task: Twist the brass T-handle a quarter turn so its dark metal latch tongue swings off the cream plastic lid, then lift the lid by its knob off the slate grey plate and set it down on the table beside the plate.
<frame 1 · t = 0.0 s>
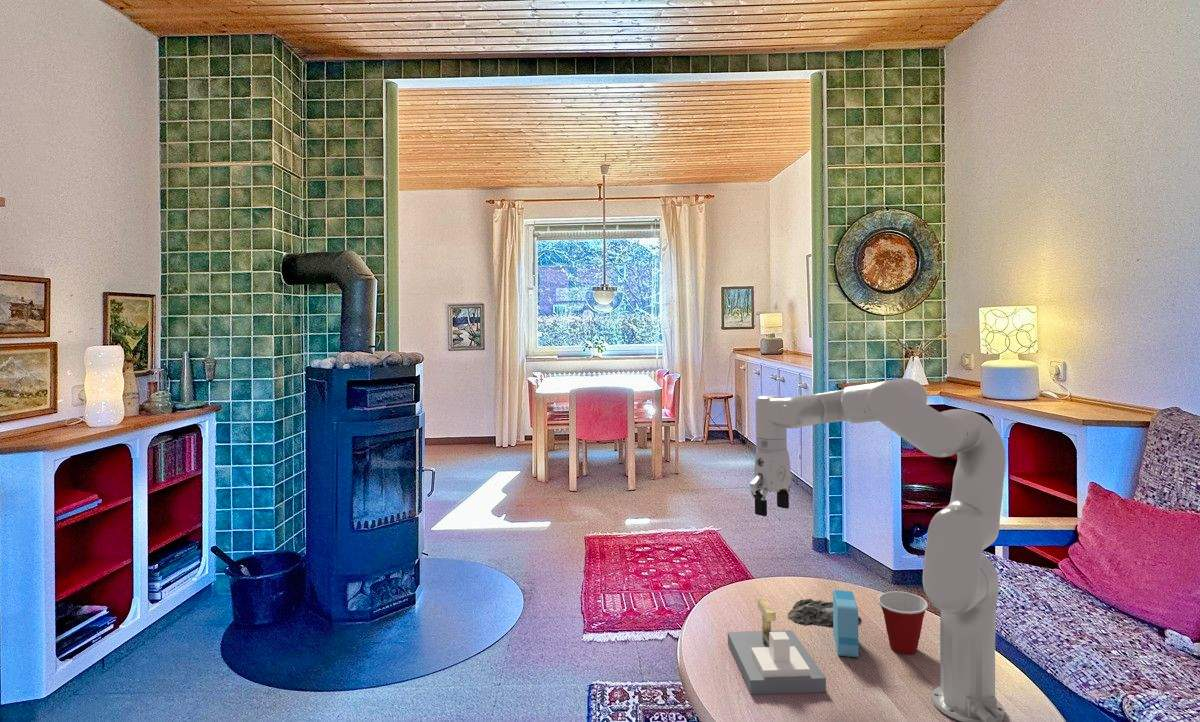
hand: (772, 511, 158), 31 cm above the table, tool pointing down, fingers open, 9 cm apart
geode: (822, 616, 169), on the table
data package: (845, 647, 151), on the table
plastic cup: (902, 650, 149), on the table
key: (768, 626, 146), point 8 cm above the table, hinge at 0.0°
plate: (773, 666, 143), on the table
lid: (779, 664, 138), point 3 cm above the table, touching plate
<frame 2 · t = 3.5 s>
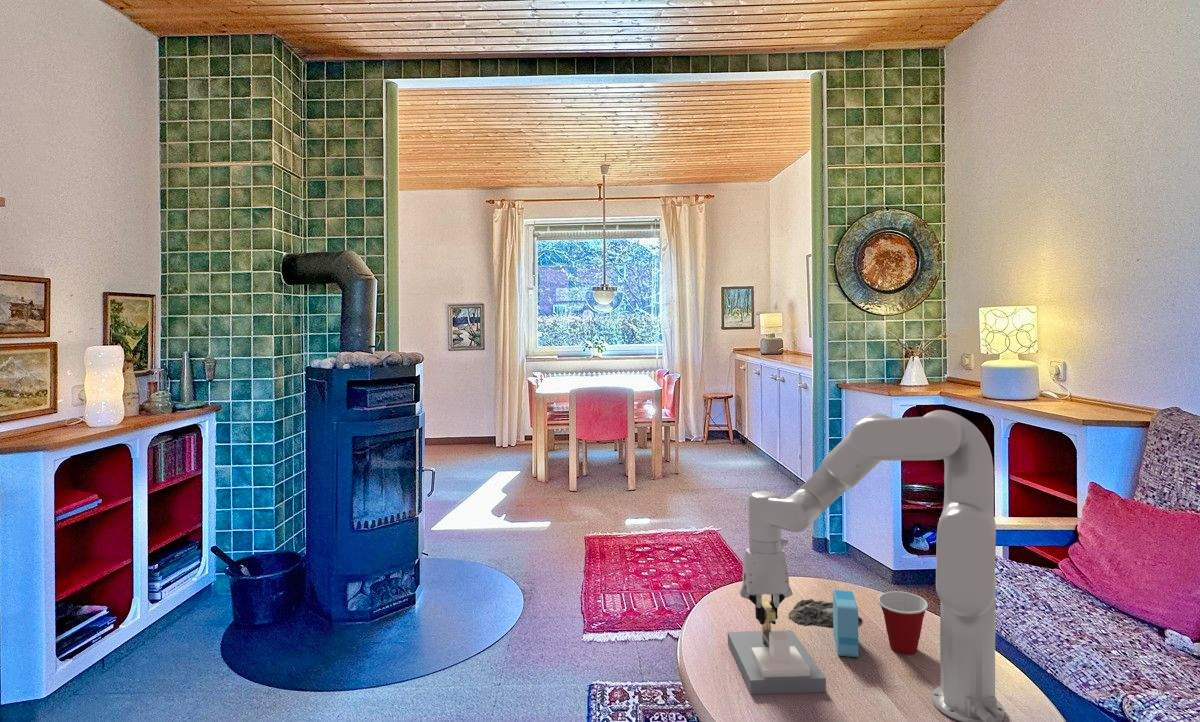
hand: (766, 621, 148), 8 cm above the table, tool pointing down, fingers closed on key, 2 cm apart
key: (768, 626, 146), point 8 cm above the table, hinge at 0.0°, touching gripper
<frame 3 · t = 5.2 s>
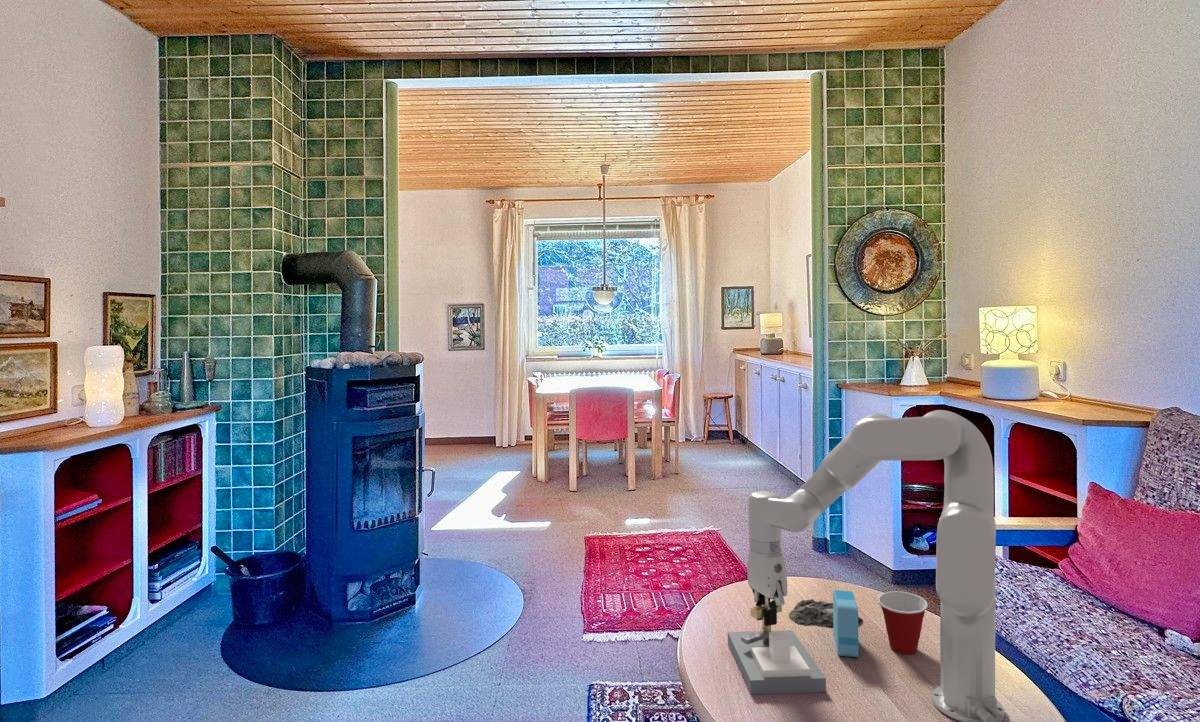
hand: (766, 621, 148), 8 cm above the table, tool pointing down, fingers closed on key, 2 cm apart
key: (761, 625, 147), point 8 cm above the table, hinge at -61.8°, touching gripper
everything else where it was.
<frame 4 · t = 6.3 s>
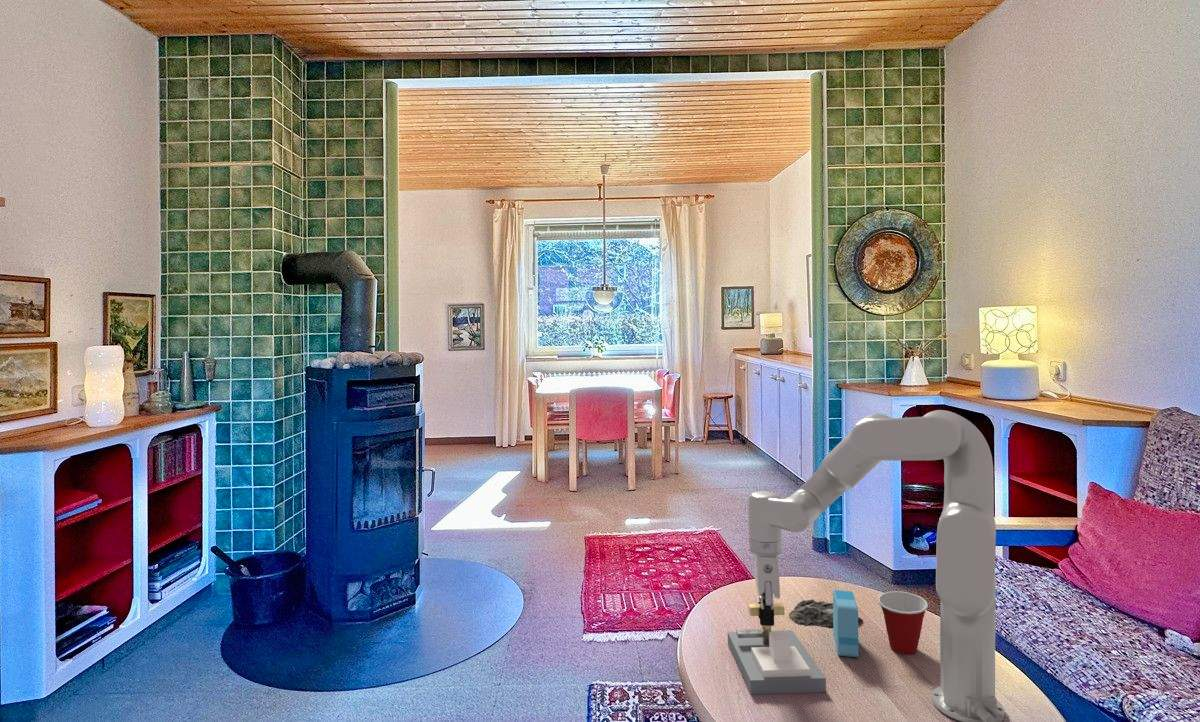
hand: (766, 621, 148), 8 cm above the table, tool pointing down, fingers closed on key, 2 cm apart
key: (760, 623, 148), point 8 cm above the table, hinge at -89.9°, touching gripper
everything else where it was.
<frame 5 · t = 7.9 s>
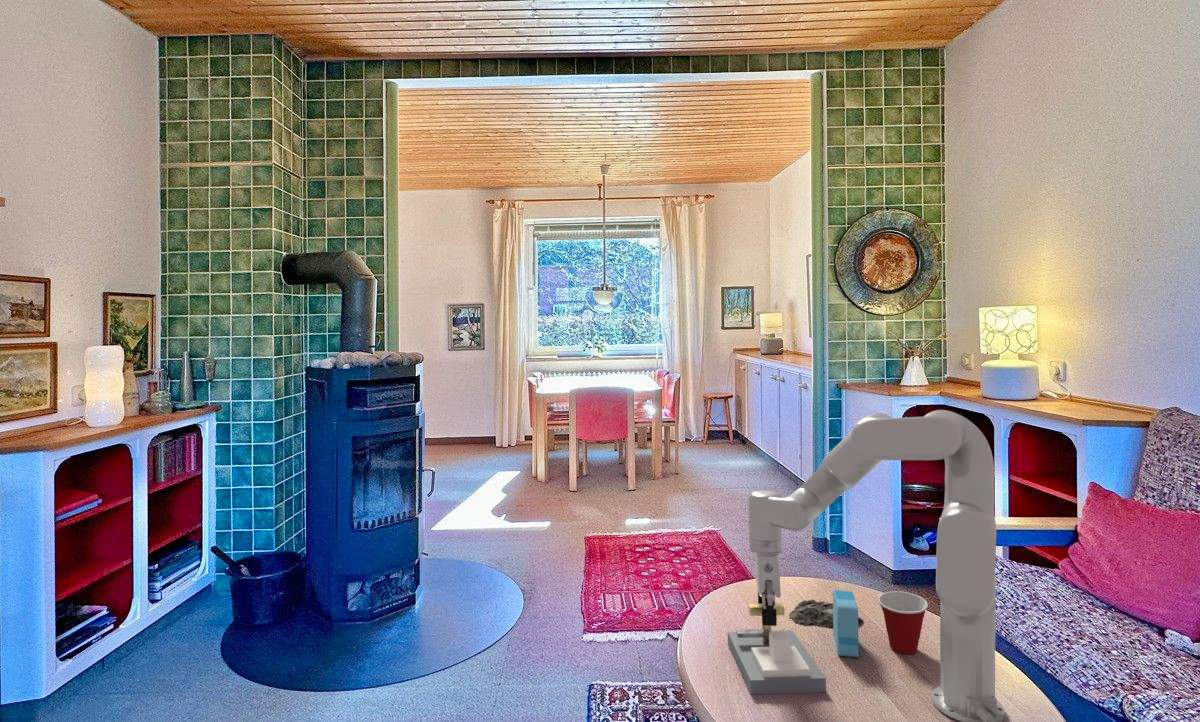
hand: (767, 615, 148), 10 cm above the table, tool pointing down, fingers open, 9 cm apart
key: (760, 623, 148), point 8 cm above the table, hinge at -91.4°
everything else where it was.
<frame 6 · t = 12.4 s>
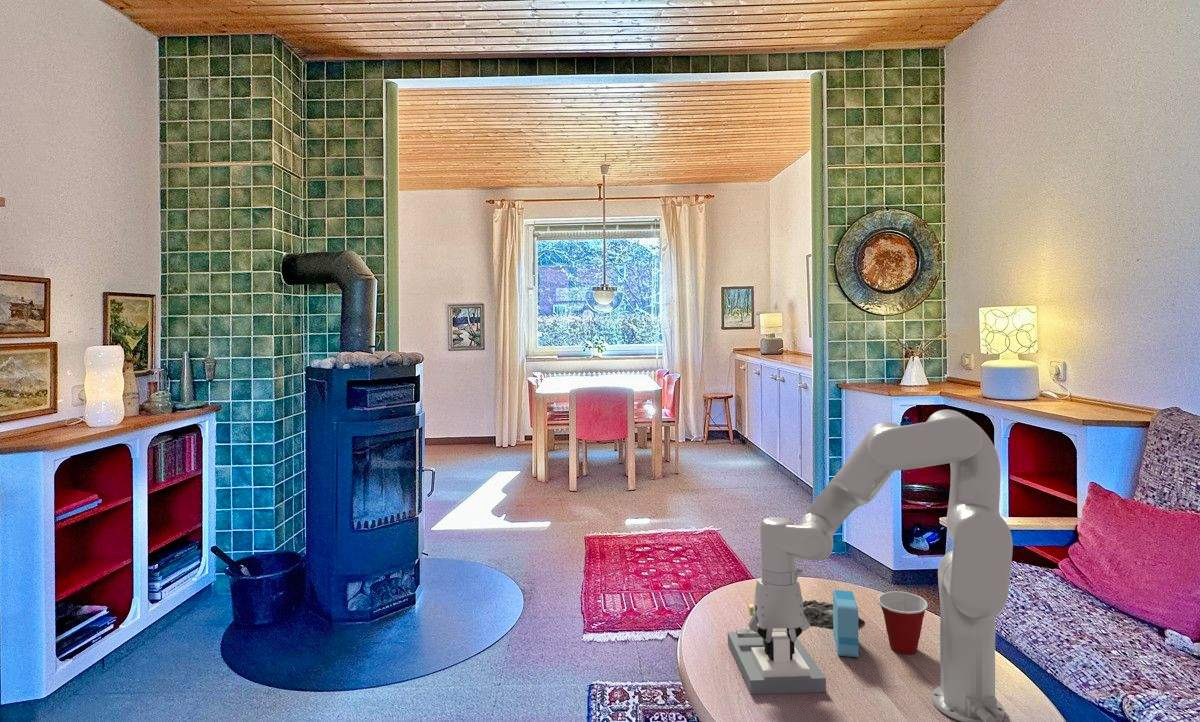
hand: (779, 656, 138), 5 cm above the table, tool pointing down, fingers closed on lid, 3 cm apart
lid: (779, 664, 138), point 3 cm above the table, touching gripper, plate
when the fingers open (3 cm above the table, at t = 17.9 s): lid drops 2 cm, on the table.
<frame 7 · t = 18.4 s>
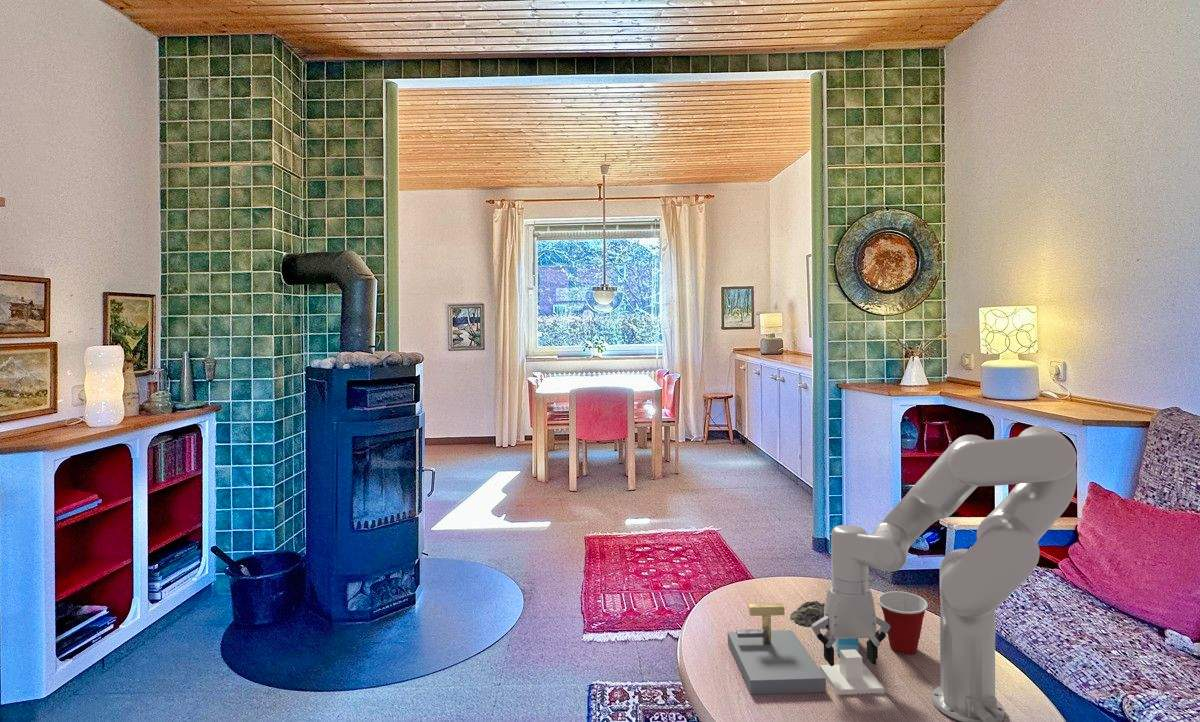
hand: (850, 662, 136), 4 cm above the table, tool pointing down, fingers open, 8 cm apart
lid: (851, 682, 136), on the table
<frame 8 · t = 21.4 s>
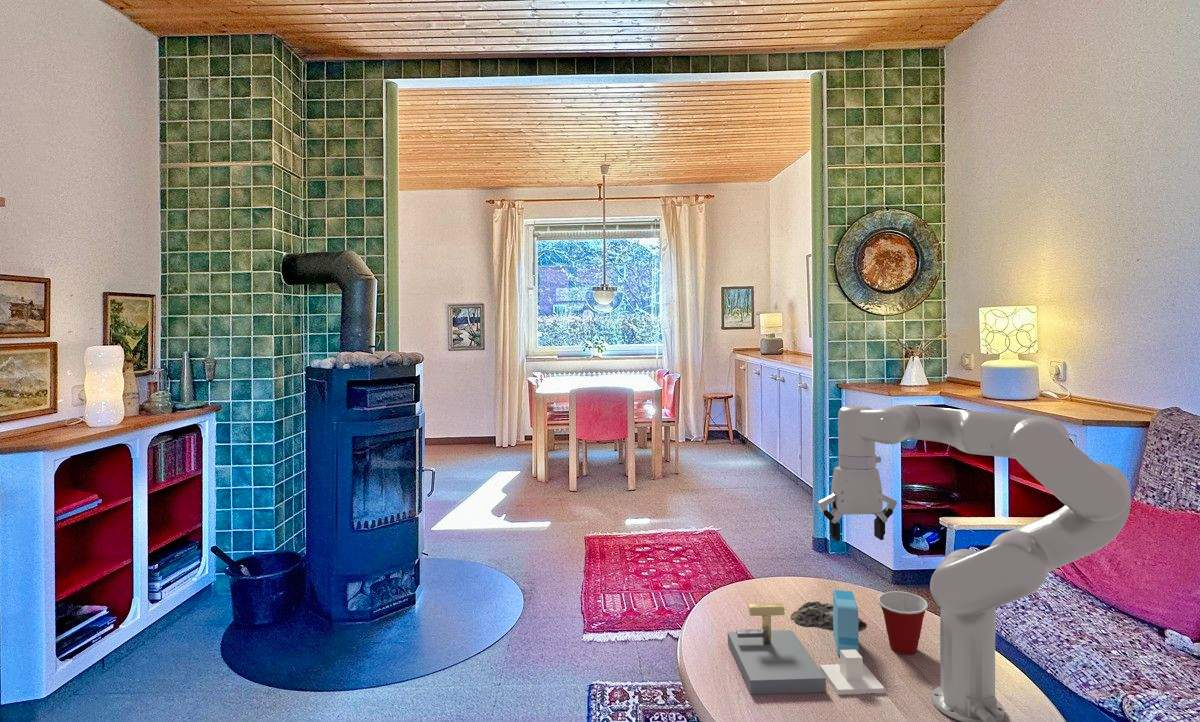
hand: (857, 538, 138), 30 cm above the table, tool pointing down, fingers open, 9 cm apart
at the end: key at -91° (first picture: +0°); lid touching table; lid inside the target area (0.1 cm from its centre), on the table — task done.
